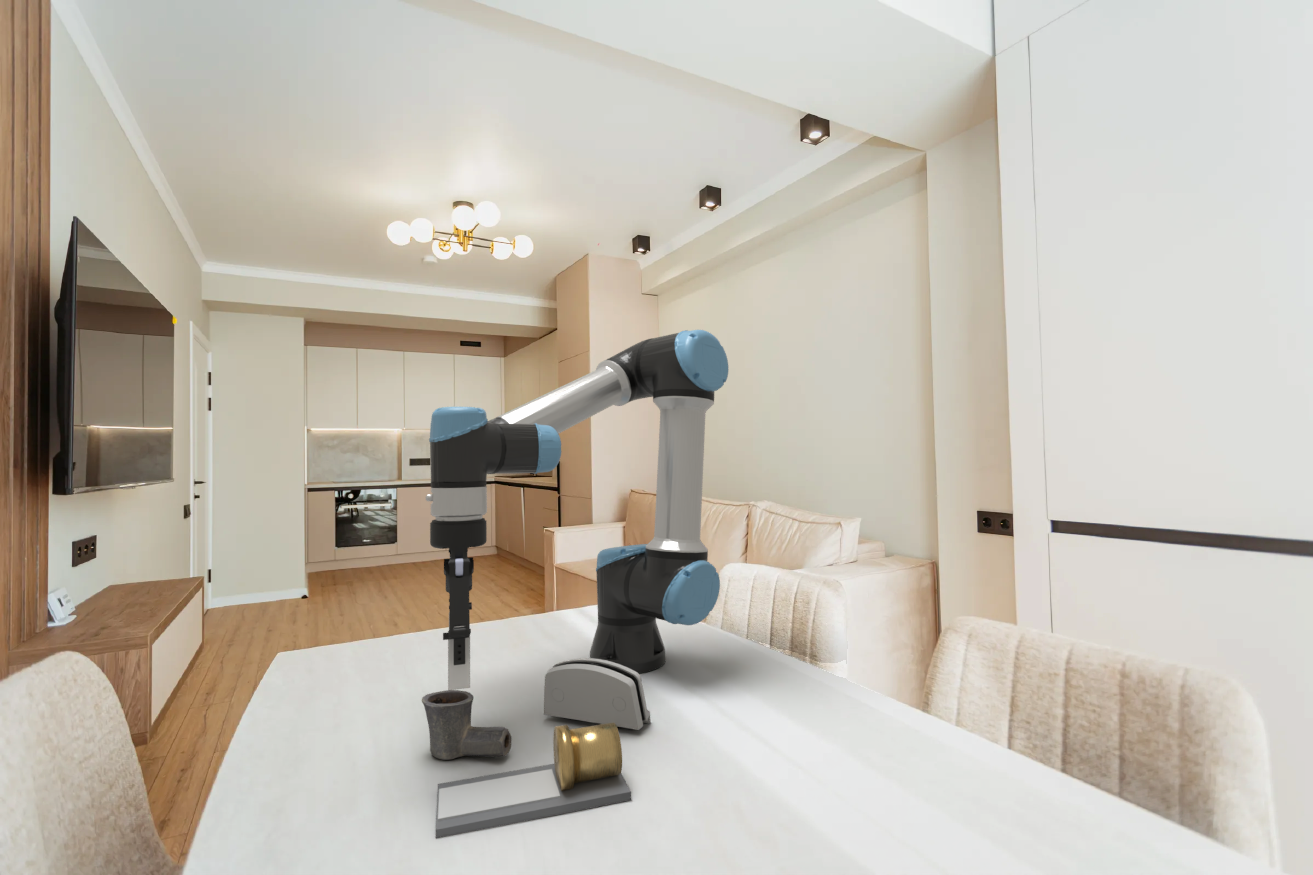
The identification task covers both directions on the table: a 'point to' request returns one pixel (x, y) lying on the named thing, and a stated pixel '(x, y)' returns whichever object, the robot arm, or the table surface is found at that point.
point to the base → (518, 799)
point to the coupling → (586, 753)
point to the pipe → (461, 728)
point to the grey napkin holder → (596, 693)
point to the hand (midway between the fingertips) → (458, 671)
